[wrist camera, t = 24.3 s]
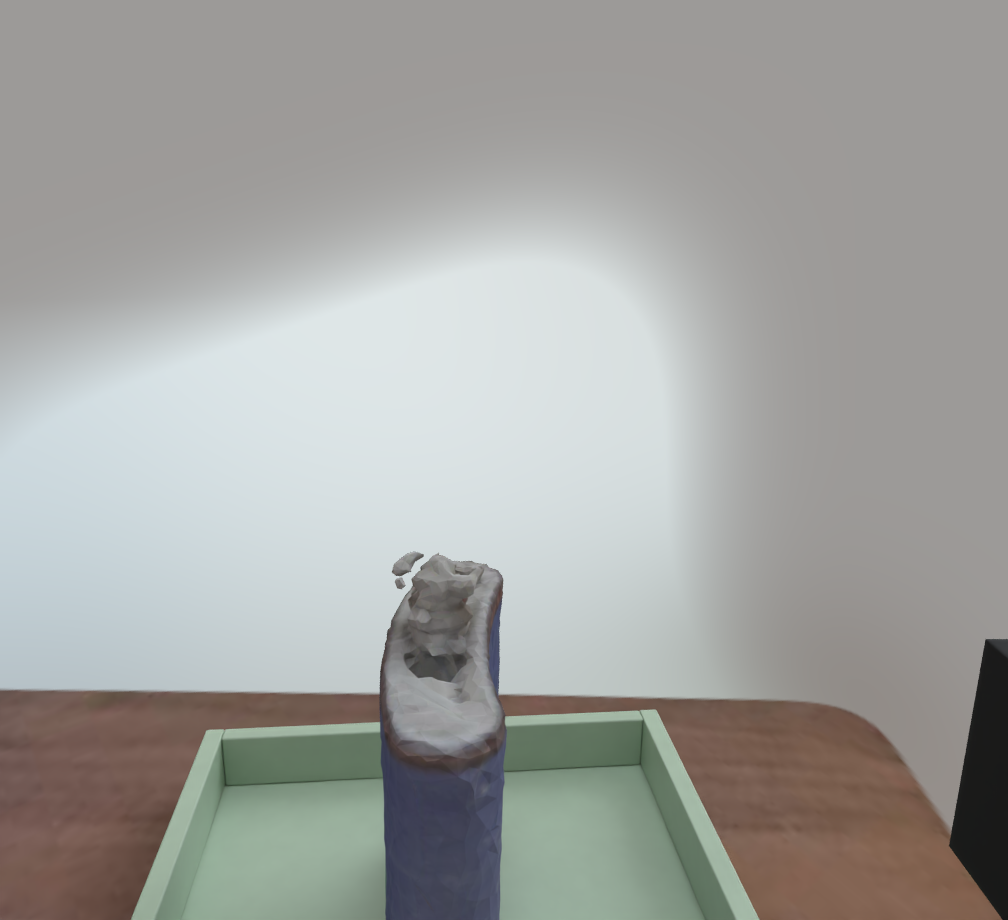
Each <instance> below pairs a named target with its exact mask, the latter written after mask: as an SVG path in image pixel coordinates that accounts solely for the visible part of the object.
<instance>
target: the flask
mask: <svg viewBox="0 0 1008 920" xmlns="http://www.w3.org/2000/svg"><path fill="white" fill-rule="evenodd" d="M423 556H424V555H423V554H420V553H418V552H410V553H407V554H406V555H405V556H403V557H402V558H401V559H399V560H398V561H397V562H396V563H395V564H394V567H393V571H392V573H394V574H395V575H396V576H402V575H404V574H406V573H408V572H411V568H412V566H413V564H414V563H415V561H417V560H419V559H420V558H422V557H423ZM395 583H396V586H397V588H399V589H402V588H403V587H405V583H404V581H403V579H402V578H398V579H396V580H395ZM412 583H413V586H412V588H411V590H410V591H409V592H408V593H407V594H406V595H405V597H404V599H403V600H402V602H401V604H400V606H399V608H398V609H397V611H396V613H395V615H394V617H393V619H392V621H391V627H390V628H389V629H388V632H387V640H386V643H385V650H384V654H383V658H382V664H381V671H380V738H381V741H382V742H381V768H382V773H383V789H384V842H385V894H386V905H385V915H386V920H499V913H500V862H501V851H502V841H501V833H502V809H503V788H504V783H505V780H504V769H503V764H504V757H505V749H506V738H507V729H506V725H505V716H506V715H505V712H504V710H503V707H502V704H501V702H500V700H499V698H498V689H499V663H500V661H499V660H500V658H499V627H500V611H501V605H502V595H503V591H502V589H503V578H502V575H501V574H500V573H499V571H498V570H495V569H492V568H489V567H488V566H487V564H479V563H474V562H472V561H463V562H462V561H461V562H460V561H451V560H450V559H448V558H446V557H445V556H441V555H439V553H438V554H436V555H434V556H432V557H431V558H430V560H429V561H428V562H426V563H425V564H424V565H422V566H421V571H419V572H418V573H417V574H416V575H415V576H414V577H413V578H412Z"/></svg>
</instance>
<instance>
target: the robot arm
mask: <svg viewBox="0 0 1008 920" xmlns="http://www.w3.org/2000/svg"><path fill="white" fill-rule="evenodd" d="M949 846H950V848H951V849H952V850H953V852H954V853H955V855H956V856H957V857H958V859H959V860H960V861H961V863H962V864H963V866H964V867H965V868H966V870H967V871H968V872H969V874H970V875H971V877H972V878H973V879H974V881H975V882H976V883H977V885H978V886H979V888H980V889H981V890H982V892H983V893H984V895H985V896H986V897H987V899H988V900H989V901H990V903H991V904H992V906H993V907H994V908H995V910H996V911H997V912H998V914H999V915H1000V917H1001V918H1002V919H1003V920H1008V639H986V640H985V646H984V651H983V657H982V663H981V668H980V674H979V680H978V686H977V691H976V697H975V702H974V708H973V714H972V719H971V725H970V731H969V736H968V742H967V748H966V754H965V759H964V765H963V770H962V776H961V782H960V787H959V793H958V799H957V804H956V810H955V816H954V821H953V827H952V833H951V838H950V844H949Z"/></svg>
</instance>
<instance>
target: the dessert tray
mask: <svg viewBox="0 0 1008 920" xmlns="http://www.w3.org/2000/svg"><path fill="white" fill-rule="evenodd" d="M505 725H506V729H507V738H506V749H505V757H504V764H503V769H504V780H505V783H504V788H503V809H502V833H501V841H502V851H501V862H500V913H499V920H759V918H758V916H757V914H756V912H755V910H754V908H753V906H752V904H751V902H750V900H749V898H748V896H747V894H746V892H745V890H744V888H743V886H742V884H741V882H740V879H739V877H738V875H737V873H736V871H735V869H734V867H733V865H732V863H731V861H730V859H729V857H728V855H727V853H726V851H725V849H724V847H723V845H722V843H721V841H720V839H719V837H718V835H717V833H716V831H715V829H714V827H713V825H712V823H711V821H710V819H709V816H708V814H707V812H706V810H705V808H704V806H703V804H702V802H701V800H700V798H699V796H698V794H697V792H696V790H695V788H694V786H693V784H692V782H691V780H690V778H689V776H688V774H687V772H686V770H685V768H684V766H683V764H682V762H681V760H680V758H679V755H678V753H677V751H676V749H675V747H674V745H673V743H672V741H671V739H670V737H669V735H668V733H667V731H666V729H665V727H664V725H663V723H662V721H661V719H660V717H659V715H658V713H657V711H656V710H640V712H639V711H621V712H599V713H576V714H554V715H532V716H510V717H505ZM381 742H382V741H381V738H380V722H377V723H355V724H333V725H311V726H288V727H266V728H244V729H226V730H225V732H224V730H223V729H221V730H207V731H206V733H205V736H204V738H203V741H202V743H201V746H200V748H199V751H198V753H197V756H196V758H195V761H194V763H193V766H192V768H191V771H190V773H189V776H188V778H187V781H186V783H185V786H184V788H183V791H182V793H181V796H180V798H179V801H178V803H177V806H176V808H175V811H174V813H173V816H172V818H171V821H170V823H169V826H168V828H167V831H166V833H165V836H164V838H163V841H162V843H161V846H160V848H159V851H158V853H157V856H156V858H155V861H154V863H153V866H152V868H151V871H150V873H149V876H148V878H147V881H146V883H145V886H144V888H143V891H142V893H141V896H140V898H139V901H138V903H137V906H136V908H135V911H134V913H133V916H132V918H131V920H386V915H385V905H386V894H385V842H384V789H383V773H382V768H381Z"/></svg>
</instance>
